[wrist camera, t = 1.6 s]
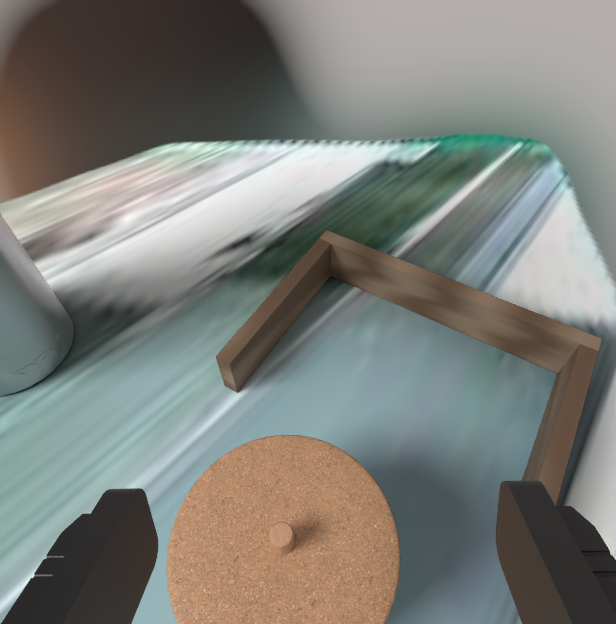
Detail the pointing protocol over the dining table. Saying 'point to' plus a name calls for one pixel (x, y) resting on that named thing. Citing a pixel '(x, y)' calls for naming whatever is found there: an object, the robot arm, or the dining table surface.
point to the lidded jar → (284, 539)
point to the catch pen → (441, 308)
